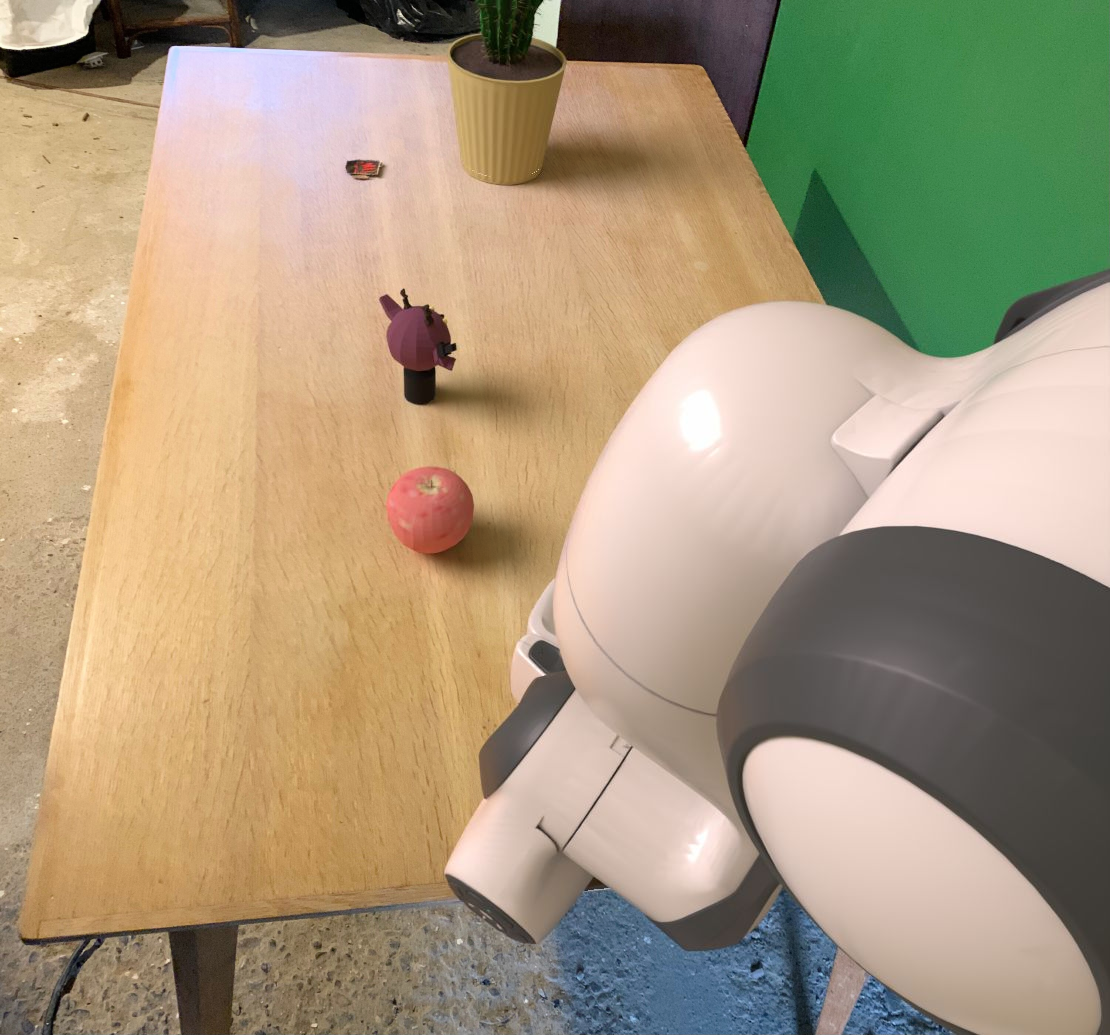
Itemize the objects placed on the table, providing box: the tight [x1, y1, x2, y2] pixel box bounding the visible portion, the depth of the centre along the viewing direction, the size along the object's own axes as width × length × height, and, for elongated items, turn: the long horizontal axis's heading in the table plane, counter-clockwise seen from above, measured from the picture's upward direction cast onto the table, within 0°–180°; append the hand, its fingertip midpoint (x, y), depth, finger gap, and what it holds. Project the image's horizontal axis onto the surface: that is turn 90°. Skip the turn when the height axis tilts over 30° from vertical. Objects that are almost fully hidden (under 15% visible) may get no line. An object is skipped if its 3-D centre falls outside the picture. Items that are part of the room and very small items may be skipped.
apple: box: [385, 465, 475, 555], centre depth 82 cm, size 7×7×8 cm
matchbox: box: [345, 158, 384, 180], centre depth 128 cm, size 5×5×1 cm
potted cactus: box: [446, 0, 568, 186], centre depth 121 cm, size 15×15×30 cm
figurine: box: [378, 288, 458, 406], centre depth 94 cm, size 8×8×12 cm
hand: (695, 601), depth 76 cm, fingers closed, pressing on medicine box
